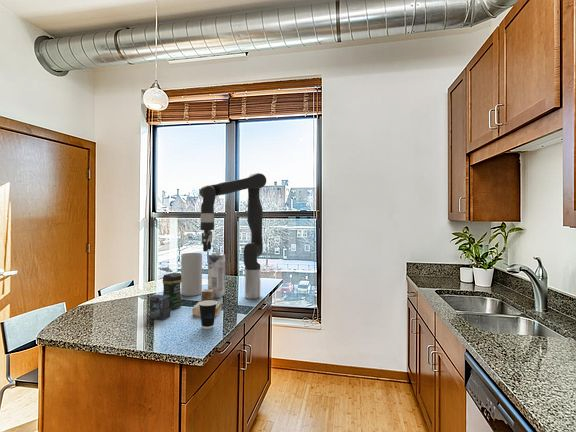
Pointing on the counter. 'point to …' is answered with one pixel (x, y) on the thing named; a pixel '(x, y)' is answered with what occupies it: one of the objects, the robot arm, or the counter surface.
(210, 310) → the dixie cup
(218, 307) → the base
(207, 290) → the walnut block
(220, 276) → the juice carton
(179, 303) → the coffee jar
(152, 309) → the box
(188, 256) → the cylinder vase
